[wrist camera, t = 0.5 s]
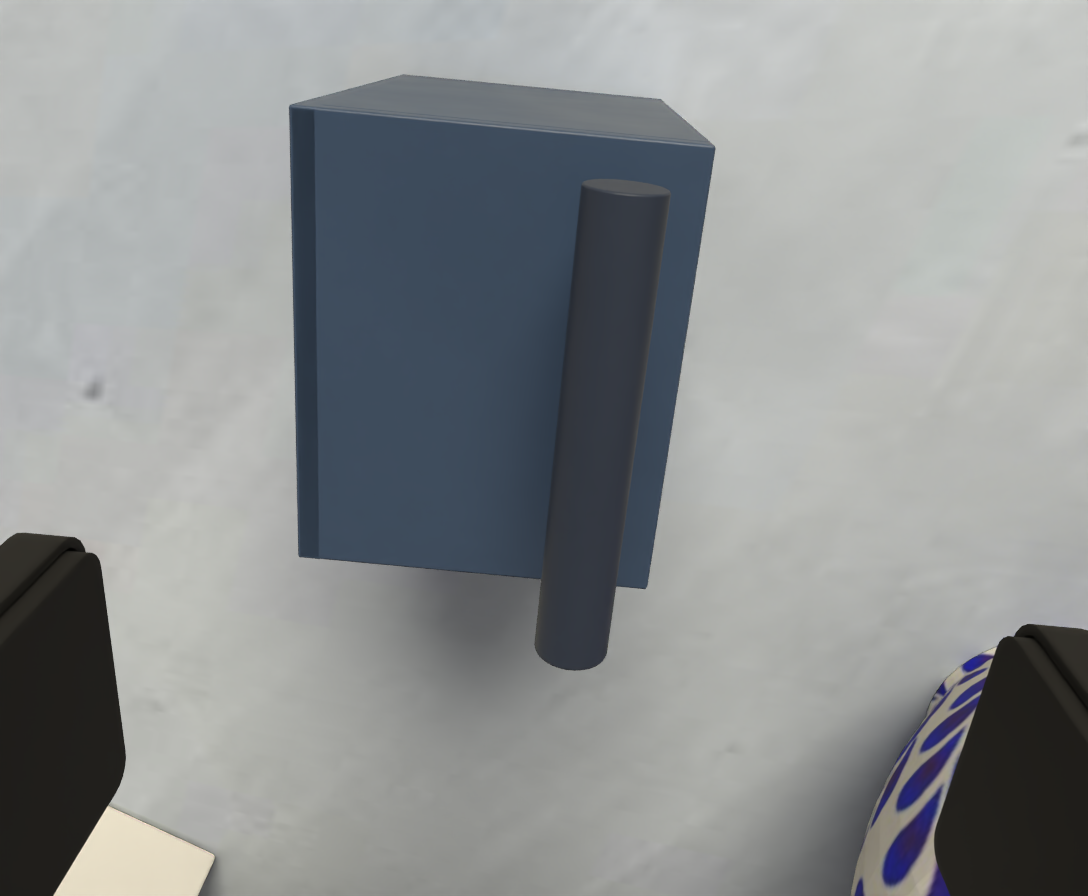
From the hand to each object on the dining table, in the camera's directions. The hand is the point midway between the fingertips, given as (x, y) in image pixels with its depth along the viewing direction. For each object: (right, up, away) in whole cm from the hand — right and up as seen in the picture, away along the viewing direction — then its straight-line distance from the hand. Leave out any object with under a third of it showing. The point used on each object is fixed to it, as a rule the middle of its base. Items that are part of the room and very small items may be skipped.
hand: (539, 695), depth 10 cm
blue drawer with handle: (-6, +7, +17) cm, 19 cm away
